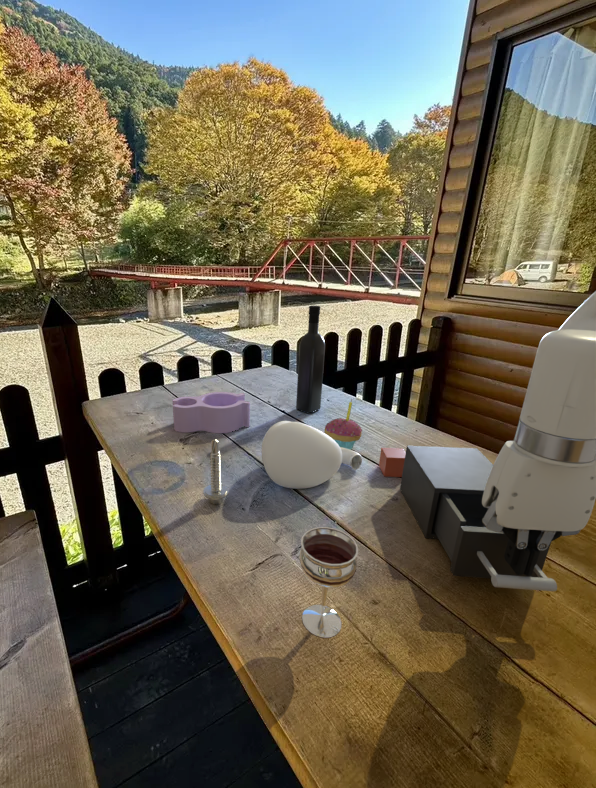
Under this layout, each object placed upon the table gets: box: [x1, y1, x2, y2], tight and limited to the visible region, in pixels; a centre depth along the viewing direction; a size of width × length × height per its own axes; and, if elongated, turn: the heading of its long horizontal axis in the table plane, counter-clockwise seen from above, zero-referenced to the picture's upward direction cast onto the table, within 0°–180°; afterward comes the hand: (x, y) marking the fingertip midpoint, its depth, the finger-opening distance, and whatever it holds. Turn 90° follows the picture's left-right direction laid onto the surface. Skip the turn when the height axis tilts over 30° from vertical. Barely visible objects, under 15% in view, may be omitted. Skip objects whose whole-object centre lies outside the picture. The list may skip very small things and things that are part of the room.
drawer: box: [432, 493, 558, 592], centre depth 60 cm, size 19×11×8 cm, turn 174°
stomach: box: [260, 420, 363, 490], centre depth 90 cm, size 23×13×24 cm
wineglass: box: [298, 526, 359, 639], centre depth 51 cm, size 7×7×12 cm
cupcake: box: [323, 398, 363, 450], centre depth 95 cm, size 9×8×12 cm
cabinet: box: [399, 445, 494, 540], centre depth 72 cm, size 15×13×10 cm
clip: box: [172, 391, 251, 434], centre depth 110 cm, size 20×12×7 cm, turn 100°
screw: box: [202, 438, 230, 505], centre depth 76 cm, size 13×5×5 cm
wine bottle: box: [295, 305, 326, 413], centre depth 115 cm, size 6×6×30 cm
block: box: [378, 447, 406, 478], centre depth 86 cm, size 4×4×4 cm
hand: (517, 567), depth 53 cm, fingers closed
